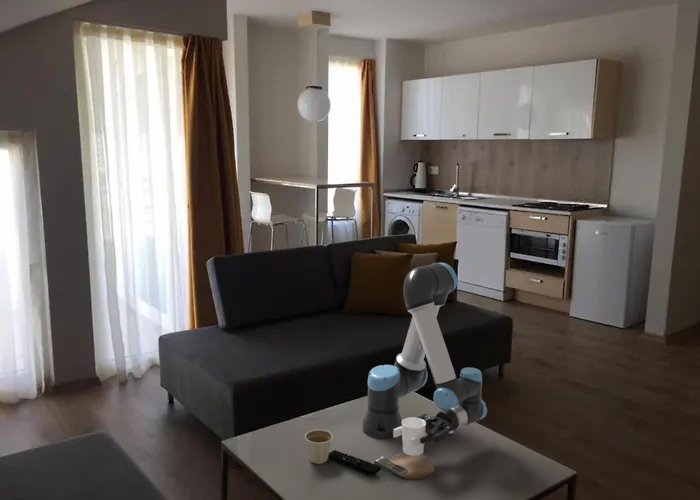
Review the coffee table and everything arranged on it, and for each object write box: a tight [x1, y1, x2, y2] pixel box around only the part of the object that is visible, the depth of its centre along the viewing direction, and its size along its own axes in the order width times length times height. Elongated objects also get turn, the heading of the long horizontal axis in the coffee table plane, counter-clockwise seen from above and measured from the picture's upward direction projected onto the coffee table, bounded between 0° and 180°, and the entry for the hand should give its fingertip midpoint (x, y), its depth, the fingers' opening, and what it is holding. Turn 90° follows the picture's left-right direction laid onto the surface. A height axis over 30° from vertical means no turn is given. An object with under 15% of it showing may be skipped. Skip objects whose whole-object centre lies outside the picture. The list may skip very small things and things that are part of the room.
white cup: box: [401, 416, 427, 456], centre depth 197 cm, size 8×8×10 cm
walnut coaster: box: [388, 452, 435, 480], centre depth 199 cm, size 15×15×1 cm
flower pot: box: [304, 429, 334, 465], centre depth 202 cm, size 9×9×9 cm
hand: (402, 438), depth 194 cm, fingers closed on white cup, 8 cm apart
